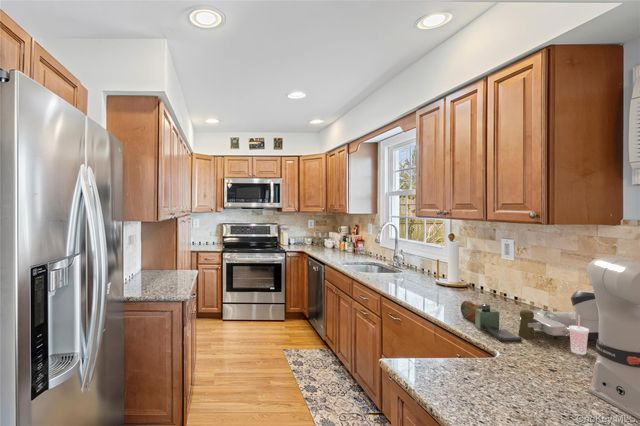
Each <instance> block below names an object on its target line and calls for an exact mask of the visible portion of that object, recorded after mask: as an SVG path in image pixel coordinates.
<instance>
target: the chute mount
mask: <svg viewBox="0 0 640 426" xmlns="http://www.w3.org/2000/svg"><path fill="white" fill-rule="evenodd" d="M480 305H481V309H476V310H475V322H474V324H475V325H474V327H475V328H477V329H478V330H480V331H485V332H487V333H488V334H489V335H491V336H492V337H494V339H496V340H498V341H499V342H501V343H503V342H506V343H514V342H515V343H519V342H522V340H523V339H522V337H520V336H516V335H515V334H514V333H512V332H511V331H509V330H507V329H506V328H505V329H501V328H500V311H499V310H497V309H495V308H491V305H490V304H488V303H481V304H480Z"/></svg>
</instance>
